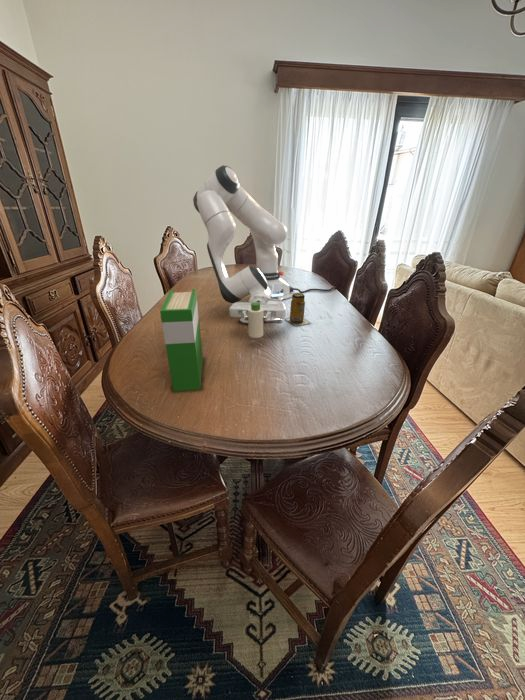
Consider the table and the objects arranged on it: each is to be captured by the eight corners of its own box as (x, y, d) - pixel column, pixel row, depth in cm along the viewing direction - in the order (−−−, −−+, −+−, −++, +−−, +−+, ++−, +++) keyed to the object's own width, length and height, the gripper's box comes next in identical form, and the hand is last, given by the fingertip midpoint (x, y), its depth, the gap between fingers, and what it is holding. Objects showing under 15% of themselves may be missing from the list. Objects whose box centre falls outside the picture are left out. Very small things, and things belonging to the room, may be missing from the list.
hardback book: (180, 359, 96) (170, 289, 84) (202, 358, 97) (195, 289, 85) (173, 391, 80) (159, 310, 69) (200, 389, 81) (191, 309, 70)
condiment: (299, 317, 131) (301, 291, 126) (309, 323, 125) (312, 296, 119) (285, 319, 128) (286, 293, 123) (295, 326, 122) (297, 299, 116)
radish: (258, 330, 105) (258, 300, 99) (266, 335, 101) (266, 304, 95) (245, 333, 102) (245, 302, 97) (253, 339, 98) (252, 307, 93)
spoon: (281, 319, 129) (281, 316, 128) (282, 324, 123) (282, 321, 122) (240, 318, 128) (240, 315, 128) (239, 324, 123) (239, 321, 122)
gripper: (232, 296, 109) (225, 309, 97) (285, 298, 107) (285, 311, 95) (232, 311, 112) (226, 326, 100) (285, 313, 110) (284, 328, 98)
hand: (255, 318), depth 98 cm, fingers closed on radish, 5 cm apart
